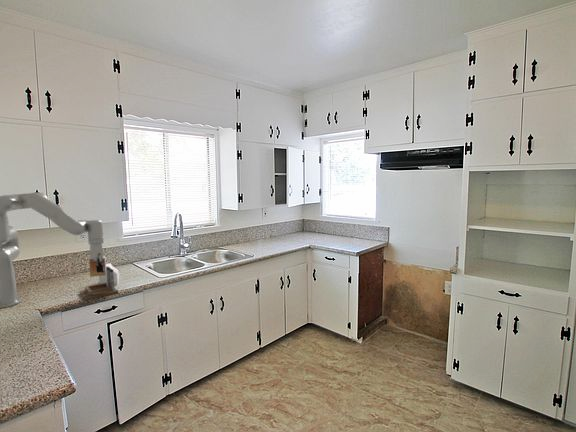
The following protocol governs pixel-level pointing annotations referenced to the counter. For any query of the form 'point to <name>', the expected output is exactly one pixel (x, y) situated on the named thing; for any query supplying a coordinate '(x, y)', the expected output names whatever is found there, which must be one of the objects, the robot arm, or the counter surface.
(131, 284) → the counter surface
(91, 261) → the small box
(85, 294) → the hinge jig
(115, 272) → the corner bracket
